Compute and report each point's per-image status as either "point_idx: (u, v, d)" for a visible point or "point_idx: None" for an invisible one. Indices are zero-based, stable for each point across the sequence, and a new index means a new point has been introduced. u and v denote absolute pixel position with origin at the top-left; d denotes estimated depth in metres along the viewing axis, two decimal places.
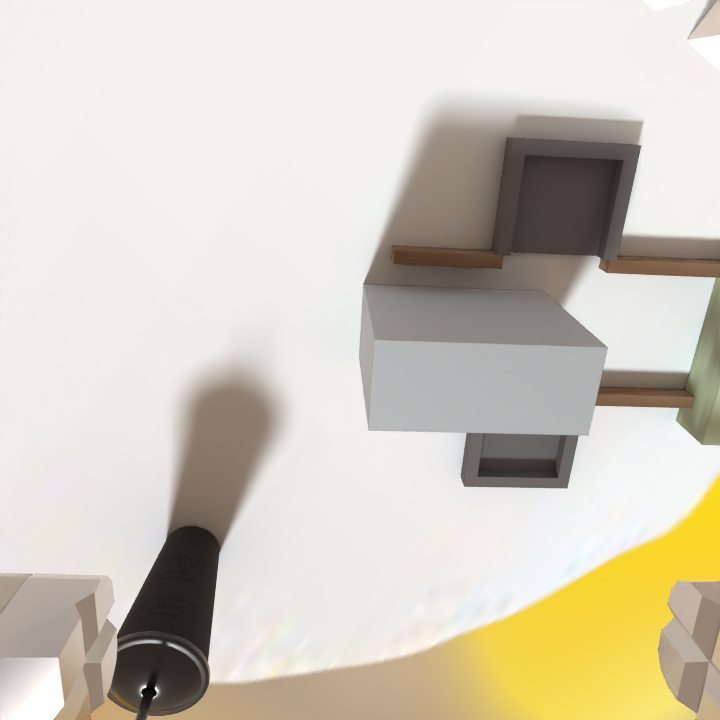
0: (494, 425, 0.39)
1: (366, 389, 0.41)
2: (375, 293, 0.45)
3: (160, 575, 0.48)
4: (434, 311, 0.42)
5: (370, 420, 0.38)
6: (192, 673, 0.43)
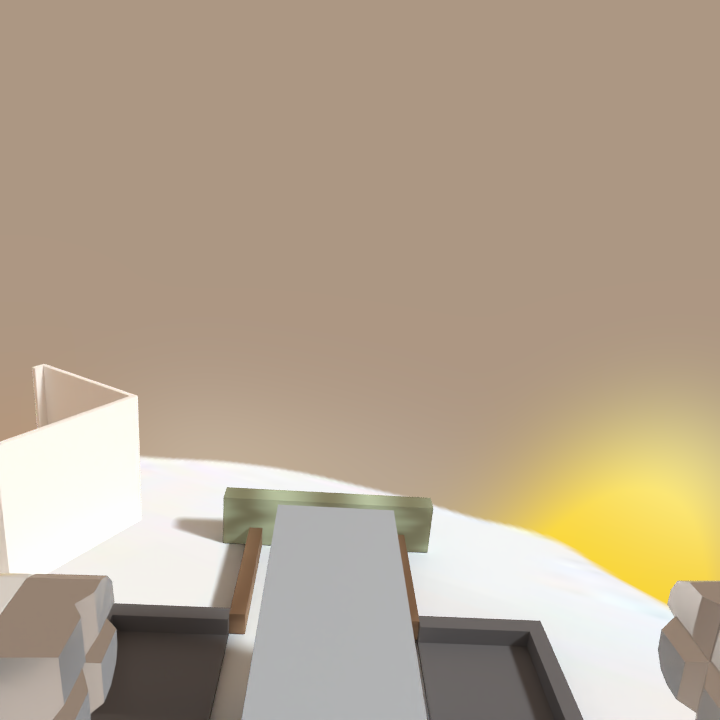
0: (393, 587, 0.26)
1: None
2: None
3: None
4: None
5: None
6: None
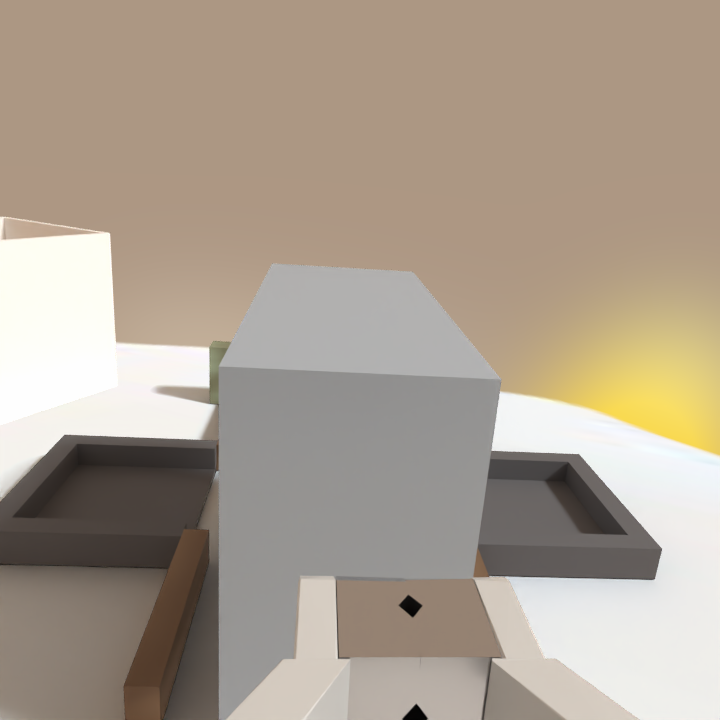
0: (421, 301, 0.21)
1: (429, 514, 0.14)
2: None
3: None
4: None
5: (468, 376, 0.13)
6: None
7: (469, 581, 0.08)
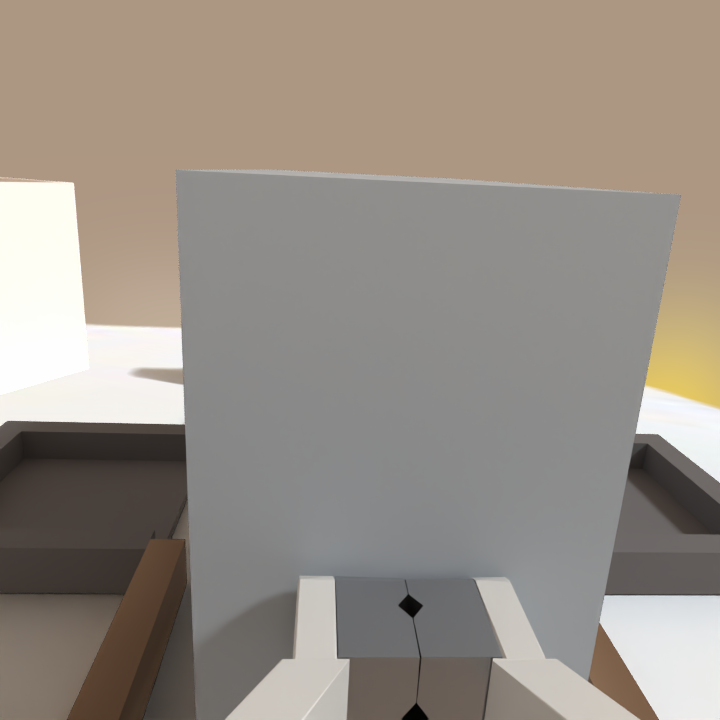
0: None
1: (545, 446, 0.08)
2: None
3: None
4: None
5: (622, 191, 0.08)
6: None
7: (470, 580, 0.08)
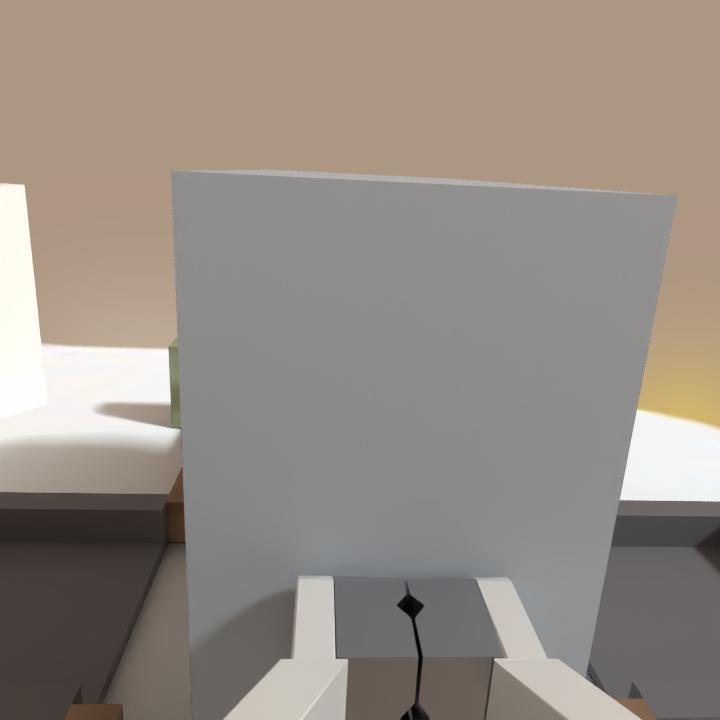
0: (478, 181, 0.15)
1: (541, 447, 0.08)
2: None
3: None
4: None
5: (618, 192, 0.08)
6: None
7: (471, 580, 0.08)
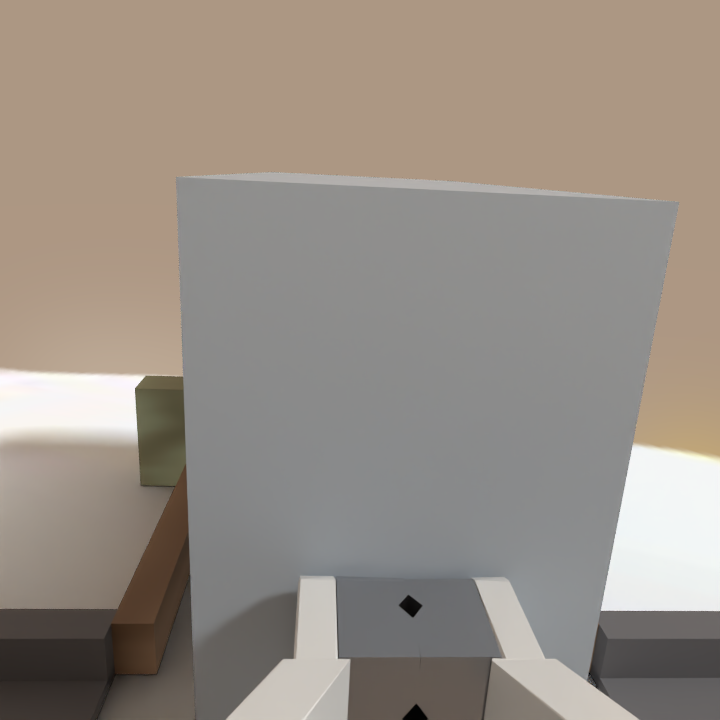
0: None
1: (543, 451, 0.08)
2: None
3: None
4: None
5: (620, 198, 0.08)
6: None
7: (469, 580, 0.08)
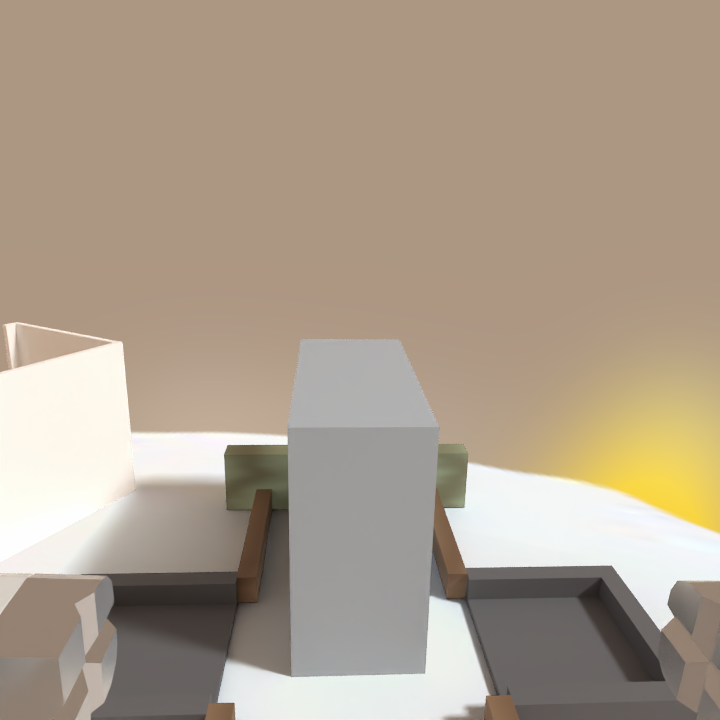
0: (402, 369, 0.32)
1: (405, 502, 0.26)
2: None
3: None
4: None
5: (421, 426, 0.25)
6: None
7: None
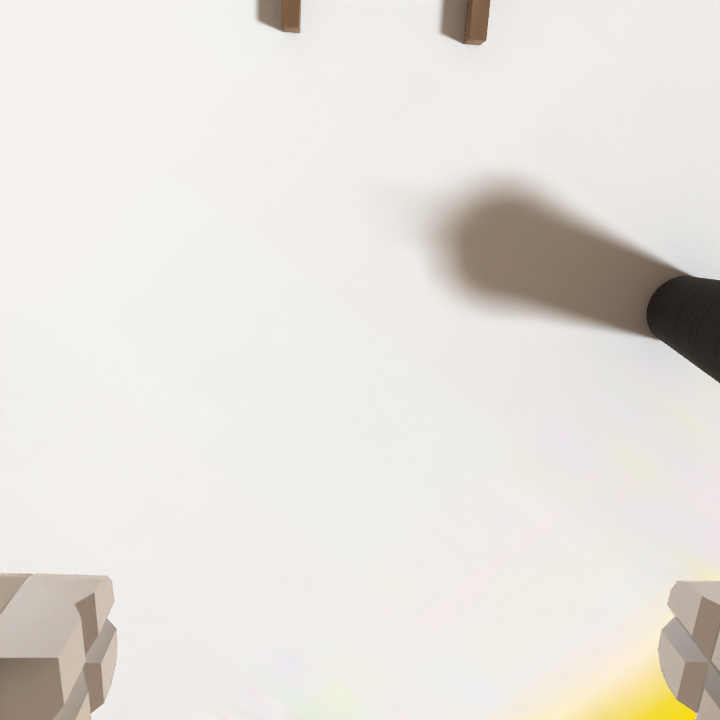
0: None
1: None
2: None
3: (692, 348, 0.37)
4: None
5: None
6: None
7: None
